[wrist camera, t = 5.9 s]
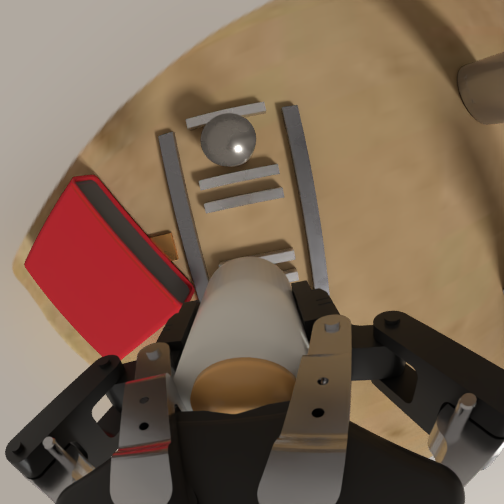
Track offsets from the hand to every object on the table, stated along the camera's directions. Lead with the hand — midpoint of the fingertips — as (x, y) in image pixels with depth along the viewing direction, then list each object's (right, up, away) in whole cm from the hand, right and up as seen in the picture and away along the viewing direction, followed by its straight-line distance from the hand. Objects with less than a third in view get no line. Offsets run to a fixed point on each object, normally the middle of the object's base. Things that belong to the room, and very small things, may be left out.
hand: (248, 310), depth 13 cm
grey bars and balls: (-2, +5, +17) cm, 17 cm away
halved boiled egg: (0, 0, +1) cm, 1 cm away
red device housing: (-17, +1, +18) cm, 25 cm away
